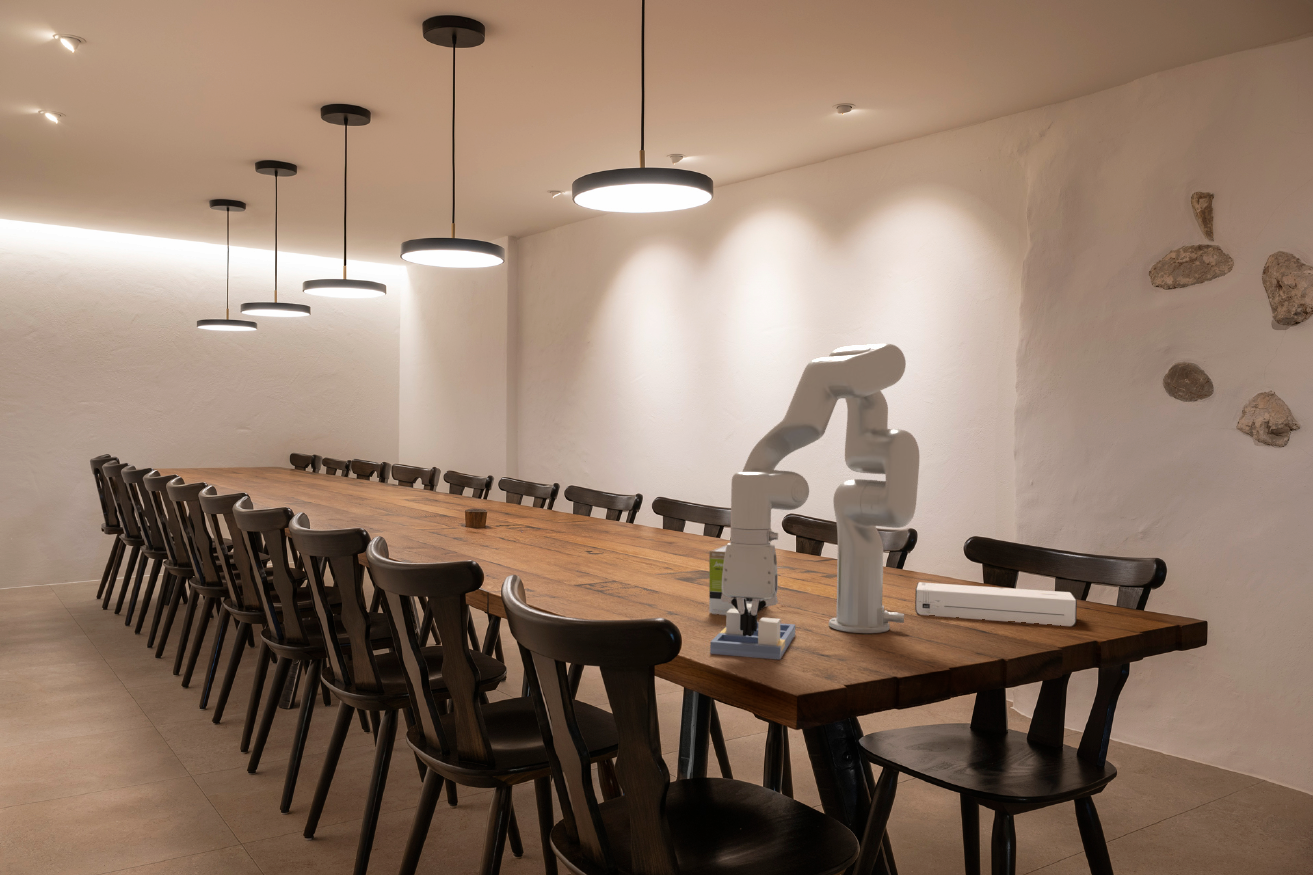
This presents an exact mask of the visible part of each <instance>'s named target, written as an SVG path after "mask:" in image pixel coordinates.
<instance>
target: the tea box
mask: <svg viewBox="0 0 1313 875" xmlns="http://www.w3.org/2000/svg"><path fill="white" fill-rule="evenodd" d="M726 547H727V544H724V545H722V546H720V547H717V548H715V549H712V550H709V558H708V559H709V560H708V561H709V562H708V563H709V564H708V567H709V572H708V573H709V574H708V580H709V584H708V586H709V587H708V588H709V594H708V595H709V596H708V597H709V600H708V601H709V605H708V607H709V608H708V609H709V613H712V614H711V615H717V614H719V616H726V612H727V611H728V610H730V609H733V605H732V604H729V603H726V602H723V601H721V596H722V573H723V564H724V557H725V551H726ZM735 598H736V597H735ZM762 600H765V599H761V601H762ZM752 601H753V599H750V598H746V602H747V604H752Z"/></svg>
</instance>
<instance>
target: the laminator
mask: <svg viewBox="0 0 1313 875" xmlns="http://www.w3.org/2000/svg"><path fill="white" fill-rule="evenodd" d="M914 601H915V602H914V605H915V606H914V608H915V612H916V614H917V615H918V616H919V615H920V616H929V615H935V616H934V617H943V618H945V617H946V618H956V617H959V618H958V619H969V620H970V619H972V620H982V619H985V620H984V621H996V622H997V621H999V622H1008V621H1015V622H1014V623H1021V622H1026V623H1025V624H1034V623H1039V625H1047V624H1052V625H1051V626H1060V625H1061V626H1064V627H1075V625H1076V623H1077V615H1078V614H1077V612H1078V609H1077V608H1078V606H1077V605H1078V602H1077V601H1078V600H1077V599H1076V598H1075V596H1074V594H1073V593H1072V592H1070V591H1054V590H1040V589H1026V588H1011V587H993V586H980V585H964V584H963V585H962V584H950V583H938V582H935V583H933V582H920V581H918V582H917V583H916V586H915V600H914Z"/></svg>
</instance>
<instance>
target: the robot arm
mask: <svg viewBox="0 0 1313 875" xmlns="http://www.w3.org/2000/svg"><path fill="white" fill-rule="evenodd" d="M906 362H907V361H906V357H905V355H904V353H903V351H902V349H901V348H899V346H897V345H895V344H892V343H877V344H864V345H862V344H861V345H850V346H843V347H839V348H837V349H834V350H833V351H831V353H830V354H829V356H825V357H819V358H816V359H813V360H811V361H809V362H808V364H806V366H805V367H804V370H803V372H802V375H801V376H800V380H799V382H798V384H797V387H796V388H795V391H794V394H793V396H792V398H791V401H790V403H789V405H788V408H787V411H786V413H785V415H784V417H783V418H782V420H781V421H780V422H779V423H777V424H776V425H775V426H773V427H772V429H770V430H769V431H768V432H767V433H766V434H765V435H764V436H763V437H762V438H760V440H759V441H758V442H757V443H756V444H755V446H754V447H753V448H752V450H751V452H750V453H749V455H748V458H747V459H746V463H745V464H744V467H743V469H742V471H738V472H736V473H734V474H733V476H732V478H731V491H730V492H731V495H730V503H731V504H730V536H729V537H730V540H729V542H728V543H727V544H726V545H727V547H726V551H725V557H724V564H723V573H722V596H721V601H723V602H726V603H729V604H732V605H733V606H734V607H735V608H736V609H737V610H738V612H739V614H740V630H743V636H746V635H748V636H752V635H753V634H754V631H757V622H758V614H759V613H760V612H761V611H762V610H763V609H764V608H765V607H771V606H772V607H773V606H777V604H778V602H779V599H778V597H777V594H778V590H779V587H778V586H779V585H778V584H779V583H778V579H779V578H778V560H777V554H776V553H777V551H776V546H775V544H771V543H772V541H778V540H779V532H775V531H773V530H772V528H771V526H772V509H774V510H781V511H793V510H796V509H799V508H801V507H802V506H804V504H805V503H806V501H808V498H809V495H810V486H809V483H808V480H807V479H806V478H805V477H804V476H803V475H802V474H800V473H798V472H795V471H792V470H791V471H789V470H778V469H776V467H777V465H779V463H780V462H781V461H782V460H783V459H785V457H786V458H787V456H789V455H791V454H792V453H793V452H794V453H795V451H797V450H800V449H802V448H804V447H806V446H809V445H811V444H813V443H815V442H816V441H818V440H820V439H821V438H822V437H823V436H824V434H825V433H826V430H827V427H828V425H829V422H830V420H831V417H832V414H833V413H834V410H835V406H837V402H838V400H841V399H845V403H846V406H847V417H846V418H847V420H846V429H845V442H844V462H845V464H846V466H847V468H848V469H850V470H851V471H852V472H856V473H860V474H861V473H862V474H871V475H872V474H873V475H885V480H877V479H862V478H861V479H860V478H859V479H856V478H855V479H849V480H845V481H843V482H842V483H840V484H839V485H838V486H837V488H836V489H835V491H834V494H833V509H834V510H833V511H834V516H835V521H836V530H837V532H836V533H837V560H836V561H837V564H836V565H837V566H836V568H837V570H836V571H837V572H836V575H837V576H836V578H837V579H836V617H835V616H834V617H832V618H830V619H829V621H828V626H829V627H830V628H832V629H835V630H837V631H841V632H847V633H854V634H855V633H856V634H879V633H885V632H889V630H890V623H889V622H892V623H896V624H897V623H898V624H899V623H900V624H904V623H905V614H904V613H900V612H897V611H894V612H893V611H891V612H890V611H888V610H885V605H883V583H884V582H883V581H884V544H883V540H882V538H881V535H880V533H879V531H878V529H877V527H882V528H883V527H884V528H894V529H896V528H897V529H899V528H904V527H906V526H908V525H909V524H910V523H911V522H912V520H913V519H914V516H915V513H916V508H917V499H918V498H917V497H918V485H919V484H918V483H919V472H920V450H919V445H918V442H917V440H916V438H915V437H914V435H913V434H912V433H910V432H909V431H907V430H904V429H899V428H898V429H897V428H894V429H893V428H891V429H890V428H888V423H889V422H888V420H889V418H888V416H889V407H888V402H887V399H886V397H885V394H883V392H882V390H884V389H885V390H886V389H887V388H889V387H892V386H894V385H896V384H897V383H898V382H900V380H901V379H902V378H903V376H904V374H905V370H906ZM735 597H736V598H735ZM746 598H750V599H753V601H752V606H751V611H750V613H749V612H748V609H747V602H746ZM761 599H765V600H762V601H761Z"/></svg>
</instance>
